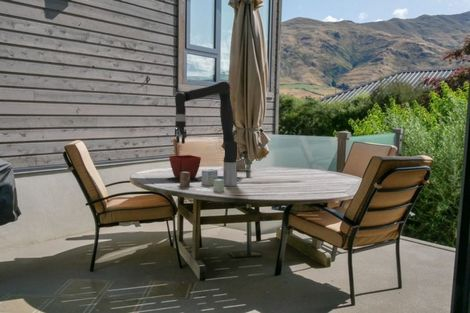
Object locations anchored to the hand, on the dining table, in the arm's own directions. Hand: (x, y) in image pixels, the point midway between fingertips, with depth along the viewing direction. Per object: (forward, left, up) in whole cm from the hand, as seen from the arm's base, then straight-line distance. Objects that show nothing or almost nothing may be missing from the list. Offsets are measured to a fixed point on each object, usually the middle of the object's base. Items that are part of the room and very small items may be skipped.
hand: (180, 143), depth 309 cm
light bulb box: (-19, +10, -30) cm, 37 cm away
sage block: (-11, +36, -30) cm, 48 cm away
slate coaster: (+2, +12, -30) cm, 32 cm away
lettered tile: (-4, +28, -30) cm, 41 cm away
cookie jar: (-83, -50, -30) cm, 102 cm away
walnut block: (+2, +12, -30) cm, 32 cm away
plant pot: (-17, -26, -30) cm, 43 cm away
